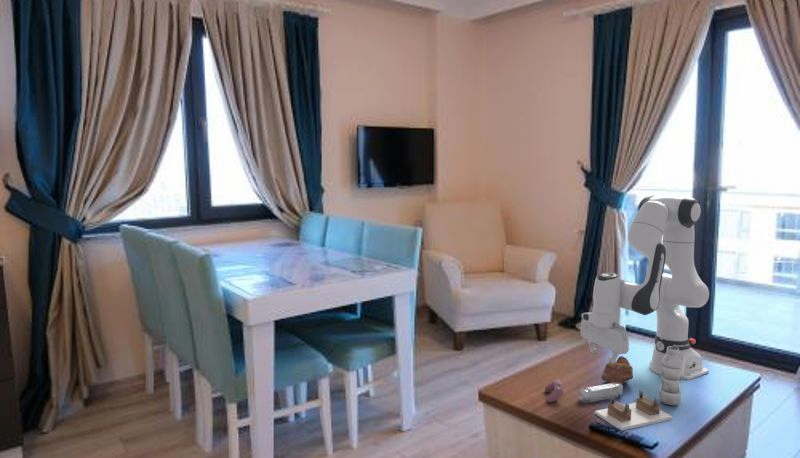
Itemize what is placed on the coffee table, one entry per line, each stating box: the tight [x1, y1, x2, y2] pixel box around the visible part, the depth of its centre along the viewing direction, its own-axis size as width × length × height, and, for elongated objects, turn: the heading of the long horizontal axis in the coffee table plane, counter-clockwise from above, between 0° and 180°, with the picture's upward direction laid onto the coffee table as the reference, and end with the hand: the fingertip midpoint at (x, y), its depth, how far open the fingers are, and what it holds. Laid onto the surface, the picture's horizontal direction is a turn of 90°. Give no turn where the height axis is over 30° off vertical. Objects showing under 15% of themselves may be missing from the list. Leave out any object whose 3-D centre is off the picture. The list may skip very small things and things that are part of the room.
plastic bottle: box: [658, 346, 683, 406], centre depth 183 cm, size 6×7×20 cm
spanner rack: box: [594, 389, 674, 431], centre depth 174 cm, size 21×12×6 cm, turn 111°
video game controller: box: [544, 379, 564, 403], centre depth 188 cm, size 10×5×7 cm, turn 168°
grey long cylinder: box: [579, 382, 624, 404], centre depth 188 cm, size 18×4×4 cm, turn 111°
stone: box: [601, 355, 634, 385], centre depth 200 cm, size 13×8×10 cm
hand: (602, 357), depth 186 cm, fingers open, 8 cm apart
